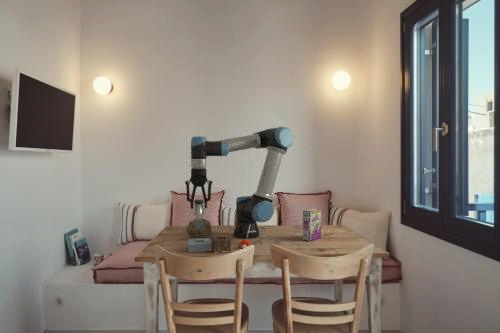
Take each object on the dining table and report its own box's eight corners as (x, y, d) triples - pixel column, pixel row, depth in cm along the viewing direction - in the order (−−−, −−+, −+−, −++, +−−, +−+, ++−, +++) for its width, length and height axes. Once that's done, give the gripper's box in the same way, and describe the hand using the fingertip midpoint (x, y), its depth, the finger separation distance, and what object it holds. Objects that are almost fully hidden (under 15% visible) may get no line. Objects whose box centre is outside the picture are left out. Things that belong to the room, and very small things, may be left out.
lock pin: (202, 229, 171) (202, 199, 170) (203, 230, 166) (203, 200, 166) (194, 229, 169) (194, 199, 169) (194, 231, 165) (194, 200, 165)
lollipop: (257, 249, 168) (257, 225, 168) (238, 249, 167) (237, 225, 167) (256, 246, 174) (255, 222, 174) (237, 246, 173) (237, 223, 173)
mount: (227, 247, 171) (227, 235, 171) (230, 251, 163) (230, 239, 163) (211, 248, 169) (211, 236, 169) (214, 253, 161) (214, 240, 161)
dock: (209, 245, 175) (209, 237, 175) (212, 251, 164) (212, 243, 164) (187, 247, 172) (187, 239, 172) (189, 252, 162) (189, 244, 162)
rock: (213, 238, 194) (209, 222, 193) (189, 245, 193) (184, 229, 191) (212, 228, 214) (208, 213, 213) (190, 233, 213) (186, 219, 211)
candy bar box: (309, 241, 182) (309, 211, 182) (302, 240, 186) (302, 210, 186) (321, 238, 190) (321, 209, 190) (314, 236, 194) (314, 208, 194)
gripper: (181, 168, 162) (181, 217, 162) (217, 168, 166) (217, 215, 166) (180, 167, 169) (180, 214, 169) (214, 167, 173) (214, 213, 174)
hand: (198, 215), depth 168 cm, fingers closed on lock pin, 4 cm apart
